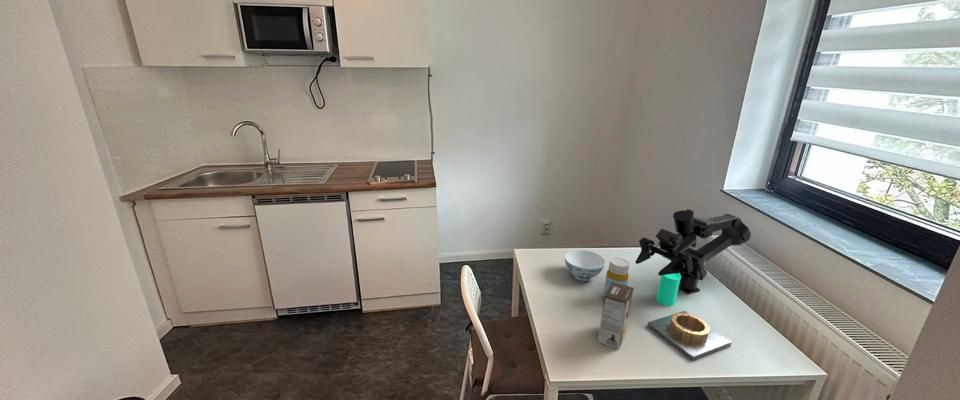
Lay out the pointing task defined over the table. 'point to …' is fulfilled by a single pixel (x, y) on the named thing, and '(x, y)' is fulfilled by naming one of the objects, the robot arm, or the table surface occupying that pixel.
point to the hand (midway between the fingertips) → (647, 268)
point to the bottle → (616, 273)
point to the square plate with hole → (689, 335)
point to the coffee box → (615, 315)
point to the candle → (668, 289)
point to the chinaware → (584, 264)
